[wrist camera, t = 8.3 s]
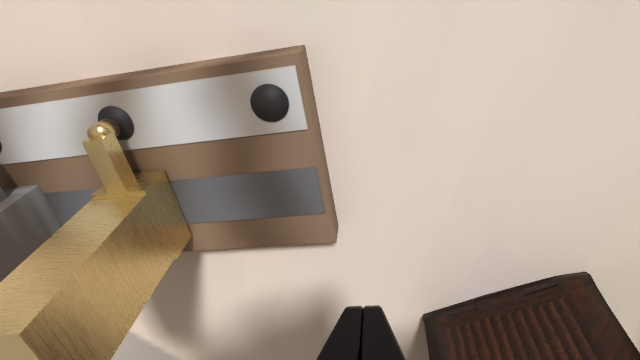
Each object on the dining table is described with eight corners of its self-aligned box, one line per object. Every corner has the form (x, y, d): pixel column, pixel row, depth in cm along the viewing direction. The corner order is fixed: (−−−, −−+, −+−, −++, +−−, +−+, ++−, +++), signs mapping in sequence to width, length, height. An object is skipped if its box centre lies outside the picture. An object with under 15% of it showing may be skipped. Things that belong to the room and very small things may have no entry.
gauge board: (304, 45, 18) (223, 164, 8) (338, 225, 23) (312, 432, 13) (-39, 98, 22) (-379, 226, 12) (56, 245, 27) (-126, 417, 17)
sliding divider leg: (138, 110, 19) (-55, 247, 10) (191, 235, 23) (82, 411, 14) (85, 117, 19) (-141, 253, 11) (145, 238, 23) (13, 409, 15)
